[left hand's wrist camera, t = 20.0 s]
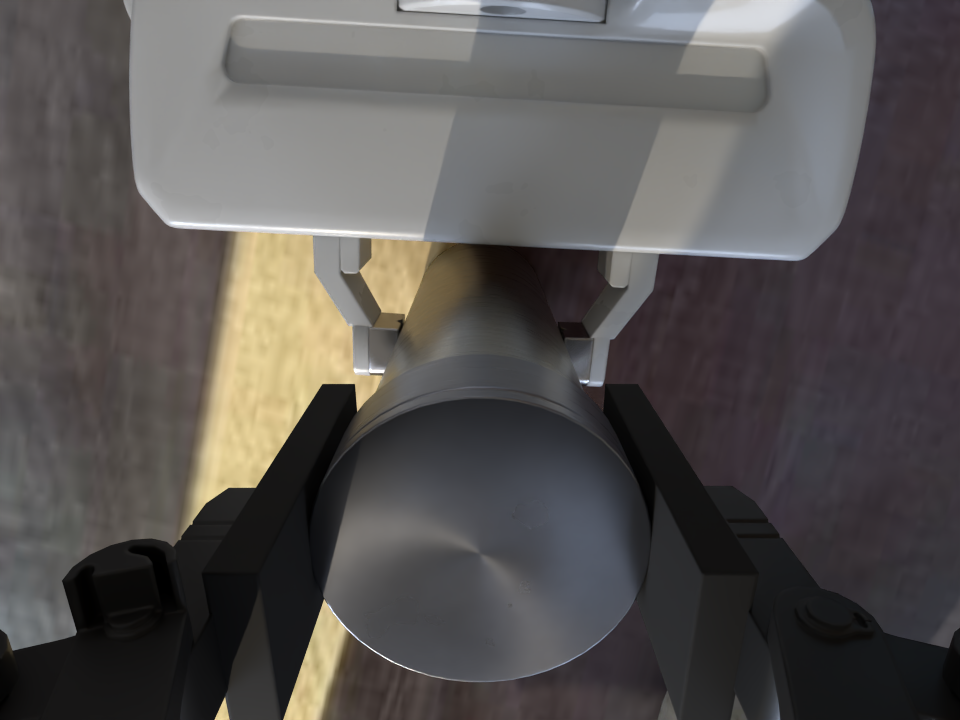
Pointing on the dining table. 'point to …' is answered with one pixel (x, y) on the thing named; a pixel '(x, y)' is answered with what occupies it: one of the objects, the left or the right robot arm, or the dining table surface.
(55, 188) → the dining table surface
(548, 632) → the lid
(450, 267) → the bottle
